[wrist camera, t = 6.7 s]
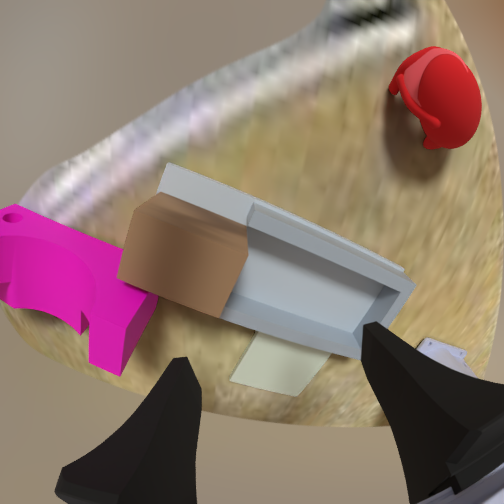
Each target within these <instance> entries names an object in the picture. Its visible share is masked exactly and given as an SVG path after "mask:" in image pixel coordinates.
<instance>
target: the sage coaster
mask: <svg viewBox="0 0 504 504" xmlns="http://www.w3.org/2000/svg"><path fill="white" fill-rule="evenodd" d="M331 354H332V353H330V352H327V351H323V350H319V349H316V348H312V347H309V346H305V345H302V344H298V343H295V342H291V341H288V340H285V339H281V338H278V337H275V336H272V335H269V334H265V333H262V332H259V331H256V332H255V334H254V335H253V337H252V339H251V341H250V342H249V344H248V346H247V347H246V349H245V351H244V353H243V354H242V356H241V358H240V359H239V361H238V363H237V364H236V366H235V368H234V369H233V371H232V373H231V374H230V376H229V381H232V382H235V383H239V384H243V385H247V386H251V387H255V388H259V389H263V390H267V391H272V392H276V393H281V394H285V395H290V396H295V397H297V396H298V395H299V394H300V393H301V392H302V390H303V389H304V388H305V387H306V386H307V384H308V383H309V382H310V381H311V379H312V378H313V377H314V376H315V374H316V373H317V372H318V371H319V369H320V368H321V367H322V366H323V364H324V363H325V362H326V360H327V359H328V358H329V357H330V355H331Z"/></svg>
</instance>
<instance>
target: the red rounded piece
mask: <svg viewBox="0 0 504 504" xmlns="http://www.w3.org/2000/svg"><path fill="white" fill-rule="evenodd" d="M399 90H400V93H401V96H402V99H403V101H404V103H405V105H406V106H407V108H408V109H409V110H410V111H411V112H412V113H413V114H414V115H415V116H416V117H418V118H419V119H420V123H421V126H422V128H423V130H424V132H425V134H426V135H427V136H426V138H425V140H424V142H423V146H424V148H426V149H437V148H441V147H443V148H448V149H453V148H458V147H460V146H462V145H464V144H466V143H467V142H468V141H469V140H470V139H471V138H472V137H473V135H474V134H475V132H476V130H477V128H478V125H479V122H480V117H481V109H482V103H481V95H480V90H479V87H478V84H477V81H476V79H475V77H474V75H473V73H472V72H471V70H470V69H469V68H468V66H467V65H466V64H465V63H464V61H463V60H462V59H461V58H460V57H459V56H458V55H457V54H456V53H454V52H452V51H450V50H447V49H443V48H440V47H435V46H432V47H428V48H425V49H423V50H420V51H418V52H416V53H414V54H413V55H411V56H410V57H408V58H407V59H406V60H404V61H403V62H402V64H401V65H400V66H399V68H398V69H397V71H396V73H395V75H394V77H393V79H392V81H391V83H390V85H389V91H390V92H391V93H392V94H393V95H397V94H398V92H399Z"/></svg>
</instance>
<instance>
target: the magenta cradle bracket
mask: <svg viewBox="0 0 504 504" xmlns="http://www.w3.org/2000/svg"><path fill="white" fill-rule="evenodd" d="M122 253H123V249H121V248H118V247H116V246H113V245H111V244H108V243H106V242H103V241H101V240H98V239H96V238H93V237H91V236H88V235H86V234H84V233H81V232H79V231H76V230H74V229H72V228H69V227H67V226H65V225H62V224H60V223H58V222H55V221H53V220H51V219H48V218H46V217H44V216H41V215H39V214H37V213H35V212H32V211H30V210H28V209H26V208H24V207H21V206H19V205H17V204H13V205H11V206H8V207H6V208H3V209H1V210H0V299H1V300H2V301H4V302H5V303H7V304H8V305H10V306H11V307H13V308H28V309H35V310H40V311H43V312H46V313H49V314H52V315H54V316H56V317H58V318H60V319H62V320H63V321H65V322H66V323H68V324H69V325H70V326H72V327H73V328H74V329H75V330H76V331H77V332H78V333H79V334H80V336H81V334H82V333H83V332H84V331H85V329H86V328H87V327H88V325H89V363H91V364H93V365H95V366H97V367H99V368H102V369H104V370H106V371H108V372H111V373H113V374H115V375H117V376H121V374H122V372H123V370H124V368H125V366H126V364H127V362H128V360H129V358H130V356H131V354H132V352H133V350H134V348H135V346H136V344H137V342H138V341H139V339H140V337H141V335H142V333H143V331H144V329H145V327H146V325H147V323H148V322H149V320H150V318H151V316H152V314H153V312H154V311H155V309H156V305H157V301H158V297H159V296H158V295H156V294H153V293H151V292H148V291H146V290H143V289H141V288H139V287H136V286H134V285H131V284H129V283H127V282H124V281H122V280H120V279H118V278H117V274H118V269H119V265H120V261H121V257H122Z"/></svg>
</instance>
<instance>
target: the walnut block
mask: <svg viewBox="0 0 504 504" xmlns="http://www.w3.org/2000/svg"><path fill="white" fill-rule="evenodd" d="M248 256H249V255H248V241H247V227H246V226H245V225H243V224H240V223H238V222H236V221H233V220H231V219H228V218H226V217H223V216H221V215H219V214H216V213H214V212H211V211H209V210H206V209H204V208H201V207H199V206H196V205H194V204H191V203H189V202H186V201H184V200H181V199H179V198H176V197H174V196H171V195H169V194H166V193H163V192H159V193H158V194H156V195H155V196H153V197H152V198H150V199H149V200H148V201H146V202H145V203H143V204H142V205H141V206H139V207H138V208H136V209H135V210H134V213H133V216H132V219H131V223H130V226H129V230H128V234H127V237H126V241H125V245H124V249H123V253H122V257H121V261H120V265H119V269H118V274H117V278H118V279H120V280H122V281H124V282H127V283H129V284H131V285H134V286H136V287H139V288H141V289H143V290H146V291H148V292H151V293H153V294H156V295H158V296H161V297H163V298H166V299H168V300H171V301H173V302H176V303H179V304H181V305H184V306H186V307H189V308H192V309H194V310H197V311H200V312H203V313H205V314H208V315H211V316H214V317H217V318H219V317H220V315H221V313H222V310H223V308H224V306H225V304H226V302H227V300H228V298H229V296H230V294H231V292H232V289H233V287H234V285H235V283H236V281H237V279H238V277H239V275H240V273H241V270H242V268H243V266H244V264H245V262H246V260H247V258H248Z"/></svg>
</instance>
